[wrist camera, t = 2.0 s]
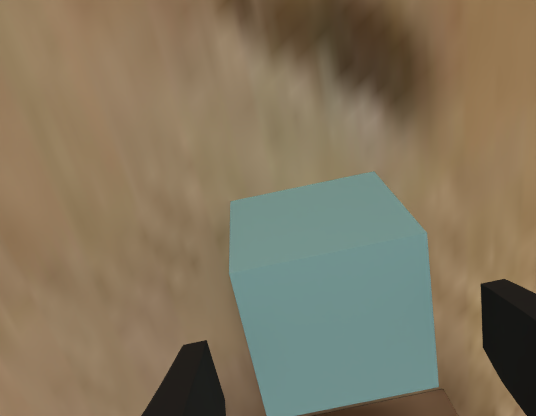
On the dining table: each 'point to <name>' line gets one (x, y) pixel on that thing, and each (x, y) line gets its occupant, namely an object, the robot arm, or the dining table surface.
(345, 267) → the teal cube
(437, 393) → the walnut base
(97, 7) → the dining table surface
